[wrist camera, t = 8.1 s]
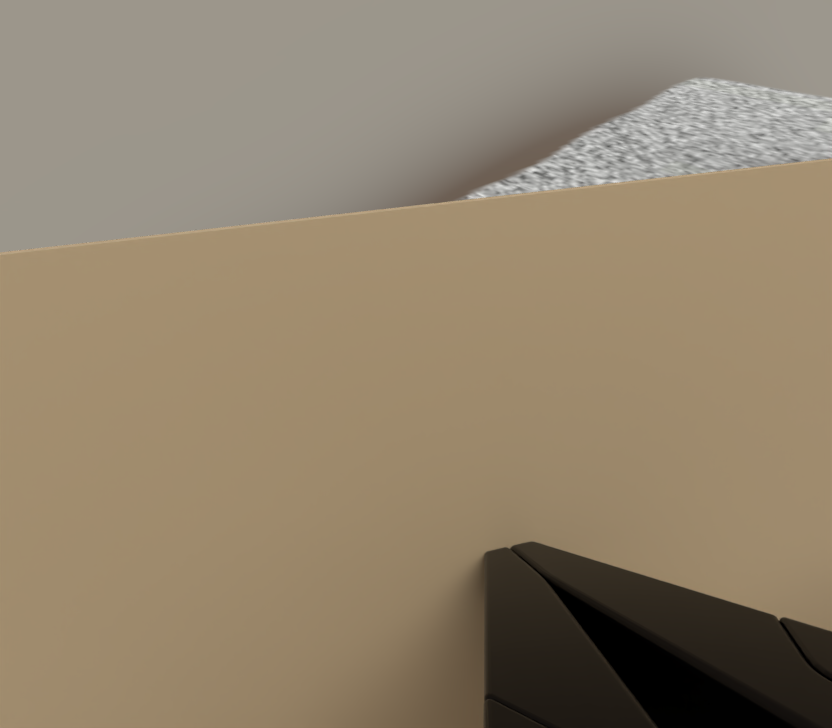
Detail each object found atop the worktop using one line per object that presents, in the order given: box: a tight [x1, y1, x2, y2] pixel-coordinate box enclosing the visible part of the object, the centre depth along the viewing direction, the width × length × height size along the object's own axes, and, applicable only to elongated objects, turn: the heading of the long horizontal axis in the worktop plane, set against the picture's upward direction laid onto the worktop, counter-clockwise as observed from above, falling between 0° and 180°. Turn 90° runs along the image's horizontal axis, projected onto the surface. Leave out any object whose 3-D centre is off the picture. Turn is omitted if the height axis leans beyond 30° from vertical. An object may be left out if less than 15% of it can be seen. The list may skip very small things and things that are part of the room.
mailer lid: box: [0, 159, 832, 728], centre depth 8 cm, size 12×18×1 cm
